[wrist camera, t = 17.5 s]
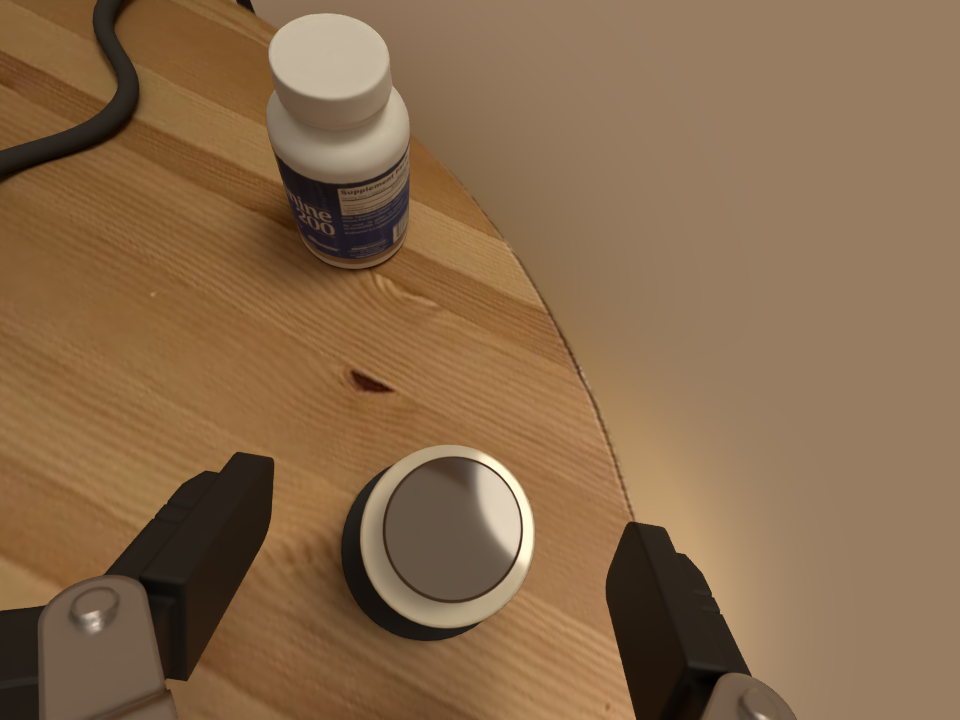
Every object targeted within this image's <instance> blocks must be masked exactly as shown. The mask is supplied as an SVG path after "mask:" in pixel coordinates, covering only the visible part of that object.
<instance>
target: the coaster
mask: <svg viewBox="0 0 960 720" xmlns="http://www.w3.org/2000/svg"><path fill="white" fill-rule="evenodd" d="M393 465H394V464H393ZM393 465H391V466H390V467H388V468H386V469H385V470H383V471H382V472H380V473H379V474H378V475H377V476H375V477H374V478H373V479H372V480H371V481H370V482H369V483H368V484H367V485H366V486H365V487H364V489H363V490H362V491H361V493H360V494H359V495H358V497H357V499H356V500H355V502H354V504H353V505H352V508H351V510H350V512H349V514H348V517H347V520H346V523H345V527H344V532H343V537H342V564H343V569H344V574H345V578H346V581H347V583H348V586H349V589H350V591H351V593H352V595H353V597H354V599H355V600H356V602H357V603H358V604H359V606H360V607H361V609H362V610H363V611H364V612H365V613H366V614H367V615H368V616H369V617H370V618H371V619H372V620H373V621H374V622H375V623H377V624H378V625H379V626H381V627H382V628H384V629H386V630H387V631H389V632H391V633H393V634H396V635H398V636H401V637H404V638H408V639H413V640H422V641H433V640H442V639H447V638H451V637H454V636H457V635H459V634H462V633H464V632H466V631H468V630H470V629H472V628H473V627H475V626H476V625H478V624H479V623H480V622H482V621H483V620H482V621H480V622H477V623H475V624H472V625H469V626H464V627H459V628H447V629H445V628H433V627H429V626H425V625H421V624H418V623H416V622H413V621H411V620H409V619H407V618H405V617H404V616H402V615H400V614H399V613H397V612H396V611H395V610H394V609H392V608H391V607H390V606H389V605H388V604H387V603H386V602H385V601H384V600H383V599H382V598H381V597H380V595H379V594H378V592H377V591H376V590H375V588H374V587H373V585H372V583H371V581H370V579H369V577H368V575H367V572H366V569H365V567H364V563H363V559H362V554H361V546H360V527H361V521H362V516H363V512H364V509H365V505H366V503H367V501H368V498H369V496H370V494H371V492H372V490H373V489H374V487H375V485H376V484H377V482H378V481H379V480H380V478H381V477H382V476H383V475H384V473H385V472H386V471H388V470H389V469H390V468H391V467H392V466H393Z"/></svg>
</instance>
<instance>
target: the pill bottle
mask: <svg viewBox="0 0 960 720" xmlns="http://www.w3.org/2000/svg"><path fill="white" fill-rule="evenodd" d="M268 57H269V64H270V69H271V74H272V78H273V83H274V88H275V90H274V92H273V93H272V95H271V97H270V100H269V102H268V106H267V111H266V125H267V131H268V135H269V139H270V142H271V146H272V149H273V152H274V155H275V158H276V161H277V164H278V168H279V171H280V174H281V178H282V180H283V184H284V187H285V190H286V193H287V196H288V199H289V202H290V205H291V208H292V212H293V215H294V218H295V221H296V224H297V227H298V229H299V232H300V235H301V237H302V240H303V241H304V243H305V245H306V246H307V248H308V249H309V250H310V251H311V252H312V253H313V254H314V255H315V256H317V257H318V258H320V259H321V260H322V261H324V262H326V263H328V264H330V265H333V266H337V267H341V268H349V269H360V268H367V267H371V266H374V265H377V264H379V263H382V262H383V261H385V260H387V259H388V258H389V257H391V256H392V255H393V254H394V253H395V252H396V251H397V250H398V249H399V248H400V247H401V245H402V243H403V241H404V239H405V237H406V234H407V229H408V219H409V160H410V159H409V152H410V126H409V117H408V112H407V109H406V107H405V104H404V102H403V100H402V98H401V96H400V95H399V93H398V92H397V91H396V89H395V88H394V87H393V86H392V77H391V72H390V60H389V53H388V49H387V47H386V44H385V42H384V41H383V39H382V38H381V36H380V35H379V34H378V33H377V32H376V31H374V29H372V28H371V27H370V26H368V25H367V24H365V23H363V22H361V21H359V20H357V19H354V18H352V17H348V16H344V15H339V14H330V13H327V14H312V15H307V16H303V17H300V18H298V19H295V20H293V21H291V22H289V23H288V24H286V25H285V26H284V27H282V28H281V29H280V30H279V31H278V32H277V33H276V34H275V36H274V37H273V39H272V41H271V43H270V46H269V53H268Z"/></svg>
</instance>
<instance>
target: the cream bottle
mask: <svg viewBox="0 0 960 720" xmlns="http://www.w3.org/2000/svg"><path fill="white" fill-rule="evenodd" d="M535 534H536V533H535V521H534V516H533V511H532V508H531V505H530V502H529V499H528V497H527V495H526V493H525V491H524V489H523V487H522V486H521V484H520V483H519V481H518V480H517V478H516V477H515V476H514V475H513V474H512V472H511V471H510V470H509V469H508V468H507V467H505V466H504V465H503V464H502V463H501V462H499V461H498V460H497V459H495V458H494V457H492V456H490V455H488V454H487V453H485V452H482V451H480V450H477V449H475V448H471V447H467V446H462V445H454V444H449V445H436V446H430V447H427V448H423V449H420V450H418V451H415V452H413V453H411V454H409V455H407V456H405V457H404V458H402V459H400V460H399V461H398V462H397V463H395V464H394V465H393V466H392V467H391V468H390V469H389V470H388V471H386V472H385V473H384V475H383V476H382V477H381V478H380V480H379V481H378V482H377V484H376V485H375V487H374V489H373V490H372V492H371V494H370V496H369V498H368V501H367V503H366V505H365V509H364V512H363V516H362V521H361V527H360V546H361V554H362V559H363V563H364V567H365V569H366V572H367V575H368V577H369V579H370V581H371V583H372V585H373V587H374V588H375V590H376V591H377V592H378V594H379V595H380V597H381V598H382V599H383V600H384V601H385V602H386V603H387V604H388V605H389V606H390V607H391V608H392V609H394V610H395V611H396V612H397V613H399V614H400V615H402V616H404V617H405V618H407V619H409V620H411V621H413V622H416V623H418V624H421V625H425V626H429V627H433V628H445V629H447V628H459V627H464V626H469V625H472V624H475V623H477V622H480V621H482V620H484V619H486V618H488V617H490V616H492V615H493V614H495V613H496V612H497V611H499V610H500V609H502V608H503V607H504V606H505V605H506V604H507V603H508V602H509V601H510V600H511V599H512V598H513V596H514V595H515V594H516V593H517V591H518V590H519V588H520V587H521V585H522V583H523V582H524V580H525V578H526V576H527V573H528V571H529V569H530V566H531V562H532V559H533V554H534V548H535Z"/></svg>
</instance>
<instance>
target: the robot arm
mask: <svg viewBox="0 0 960 720" xmlns="http://www.w3.org/2000/svg"><path fill="white" fill-rule="evenodd" d="M124 1H125V0H97V3H96V5H95V7H94V13H93V27H94V32H95V34H96V37H97V40H98V42H99V43H100V45H101V47H102V49H103V50H104V52H105V54H106V55H107V57H108V59H109V60H110V62H111V64H112V66H113V68H114V70H115V72H116V75H117V78H118V89H117V92H116V93H115V95H114V97H113V99H112V100H111V101H110V103H109V104H108V105H107V106H106V107H105V108H104V109H103V110H102V111H101V112H100V113H98V114H97V115H95V116H94V117H93V118H91V119H89V120H88V121H86V122H84V123H82V124H80V125H78V126H76V127H74V128H71V129H69V130H66V131H63V132H61V133H58V134H55V135H52V136H48V137H45V138H42V139H39V140H35V141H32V142H28V143H25V144H21V145H18V146H15V147H11V148H8V149H5V150H2V151H0V175H3V174H6V173H9V172H11V171H14V170H17V169H20V168H23V167H26V166H29V165H33V164H36V163H39V162H42V161H46V160H49V159H52V158H55V157H59V156H62V155H65V154H68V153H71V152H74V151H76V150H79V149H81V148H84V147H86V146H89V145H91V144H93V143H95V142H97V141H99V140H101V139H102V138H104V137H106V136H107V135H109V134H110V133H112V132H113V131H114V130H116V129H117V128H118V127H119V126H120V125H121V124H122V123H123V122H124V121H125V120H126V119H127V118H128V116H129V115H130V114H131V112H132V110H133V109H134V107H135V105H136V103H137V98H138V93H139V82H138V77H137V74H136V71H135V68H134V67H133V65H132V63H131V61H130V59H129V57H128V56H127V54H126V53H125V51H124V49H123V48H122V46H121V44H120V43H119V41H118V39H117V37H116V34H115V32H114V28H113V20H114V17H115V15H116V13H117V11H118V10H119V8H120V6H121V5H122V3H123V2H124ZM236 2H237V4H238V5H240V6H242V7H243V8H245V9H246V10H248V11H250V12H251V13H253V14H255V11H254V9H253V6H252V4H251V1H250V0H236ZM255 15H256V14H255ZM273 479H274V460H273V458H271V457H265V456H260V455H254V454H248V453H242V452H236V453H235V454H234V455H233V456H232V457H231V459H230V460H229V461H228V463H227V464H226V465H225V466H224V468H223V469H222V470H221V471H220V473H217V472H211V471H204V472H202V473H200V474H199V475H197V476H195V477H193V478H192V479H190V480H188V481H186V482H185V483H183V484H182V485H181V486H180V487H179V489H178V490H177V491H176V492H175V493H174V494H173V495H172V497H171V498H170V499H169V500H168V503H167V505H166V504H165V505H164V506H163V507H162V508H161V509H160V510H159V512H158V513H157V514H156V515H155V518H154V519H152V520H151V521H150V522H149V523H148V524H147V525H146V527H145V528H144V529H143V530H142V531H141V532H140V534H139V535H138V536H137V537H136V538H135V539H134V540H133V542H132V543H131V544H130V545H129V546H128V547H127V549H126V550H125V551H124V552H123V553H122V554H121V555H120V557H119V558H118V559H117V560H116V561H115V562H114V564H113V565H112V566H111V567H110V568H109V569H108V570H107V572H106V573H105V574H104V575H103V576H98V577H93V578H89V579H86V580H83V581H81V582H78V583H76V584H74V585H72V586H70V587H68V588H66V589H65V590H63V591H62V592H60V593H59V594H58V595H56V596H55V597H54V598H53V599H52V600H51V601H50V602H49V603H48V604H47V605H44V606H38V607H31V608H22V609H12V610H3V611H0V720H178V717H177V713H176V708H175V704H174V699H173V696H172V693H171V690H170V689H169V690H167V688H166V684H165V680H166V678H169V679H175V680H182V681H188V679H189V677H190V675H191V673H192V671H193V670H194V668H195V666H196V664H197V662H198V660H199V659H200V657H201V655H202V653H203V651H204V649H205V648H206V646H207V644H208V642H209V640H210V639H211V637H212V635H213V633H214V631H215V629H216V628H217V626H218V624H219V622H220V620H221V618H222V617H223V615H224V613H225V611H226V609H227V608H228V606H229V604H230V602H231V600H232V598H233V597H234V595H235V593H236V591H237V589H238V587H239V586H240V584H241V582H242V580H243V578H244V577H245V575H246V573H247V571H248V569H249V567H250V566H251V564H252V562H253V560H254V558H255V556H256V555H257V553H258V551H259V549H260V547H261V545H262V544H263V542H264V539H265V537H266V534H267V531H268V528H269V524H270V519H271V512H272V495H273ZM606 600H607V604H608V608H609V612H610V616H611V620H612V624H613V628H614V632H615V637H616V641H617V645H618V649H619V653H620V657H621V661H622V665H623V669H624V673H625V677H626V681H627V685H628V689H629V693H630V697H631V701H632V705H633V709H634V713H635V717H636V720H797V719H796V717H795V715H794V713H793V712H792V710H791V708H790V707H789V706H788V705H787V703H786V702H785V701H784V700H783V699H782V698H781V697H780V696H779V695H778V694H777V693H776V692H775V691H774V690H773V689H771V688H770V687H769V686H767V685H766V684H764V683H763V682H761V681H759V680H757V679H755V678H753V677H752V676H751V673H750V671H749V669H748V667H747V665H746V663H745V661H744V659H743V657H742V655H741V653H740V651H739V649H738V646H737V645H736V642H735V640H734V638H733V636H732V634H731V632H730V630H729V628H728V626H727V624H726V621H725V619H724V617H723V615H721V614H720V609H719V607H718V605H717V603H716V601H715V599H714V598H713V597H712V592H711V590H710V588H709V586H708V584H707V582H706V580H705V578H704V576H703V574H702V572H701V571H700V570H699V569H698V568H697V567H696V566H695V565H694V564H693V562H692V561H691V560H690V559H689V558H688V557H687V556H686V555H685V554H681V553H676V551H675V549H674V546H673V544H672V542H671V540H670V537H669V535H668V533H667V531H666V529H665V528H663V527H660V526H654V525H648V524H643V523H637V522H629V523H628V524H627V525H626V527H625V529H624V532H623V534H622V537H621V539H620V542H619V545H618V547H617V550H616V552H615V555H614V558H613V560H612V563H611V565H610V568H609V571H608V574H607V579H606Z"/></svg>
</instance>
